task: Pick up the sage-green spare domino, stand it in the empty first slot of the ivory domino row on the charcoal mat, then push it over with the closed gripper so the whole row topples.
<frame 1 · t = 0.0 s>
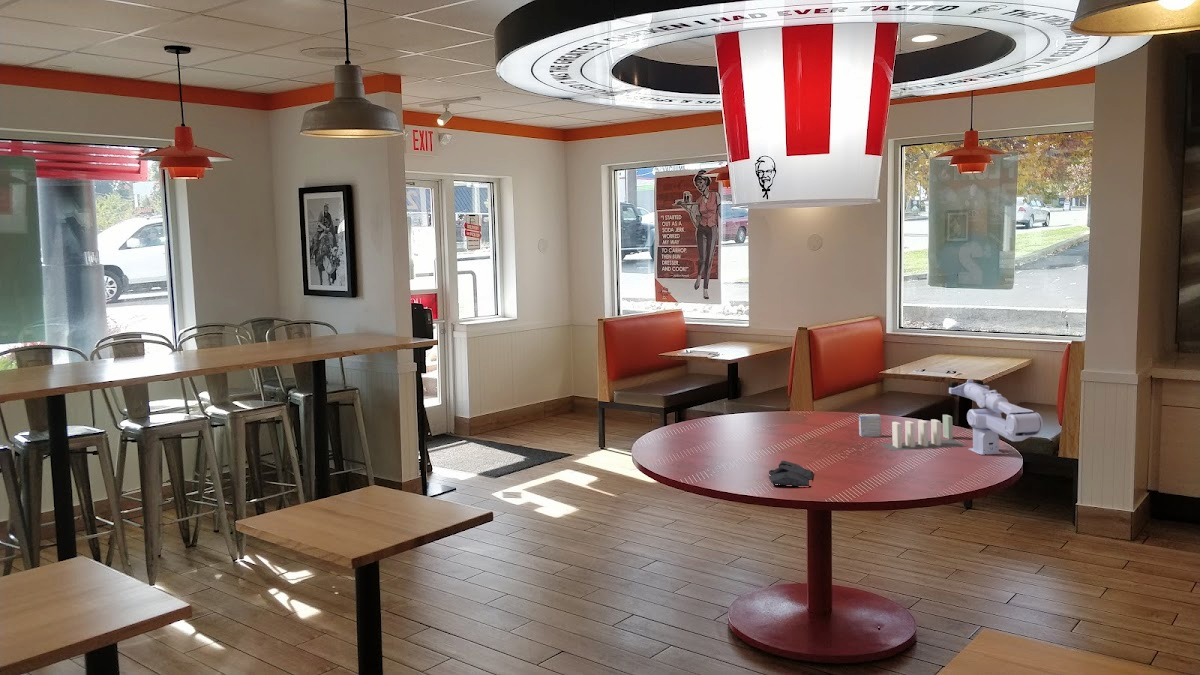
hand: (958, 384, 351), 22 cm above the table, tool horizontal, fingers open, 7 cm apart
domino 4: (910, 445, 348), resting on charcoal mat
domino 3: (923, 444, 348), resting on charcoal mat
charcoal mat: (923, 446, 348), on the table
domino 5: (897, 446, 347), resting on charcoal mat
domino 2: (936, 444, 348), resting on charcoal mat
spare domino: (947, 438, 359), on the table
dark slate chunk: (790, 481, 308), on the table
medicine box: (870, 437, 370), on the table
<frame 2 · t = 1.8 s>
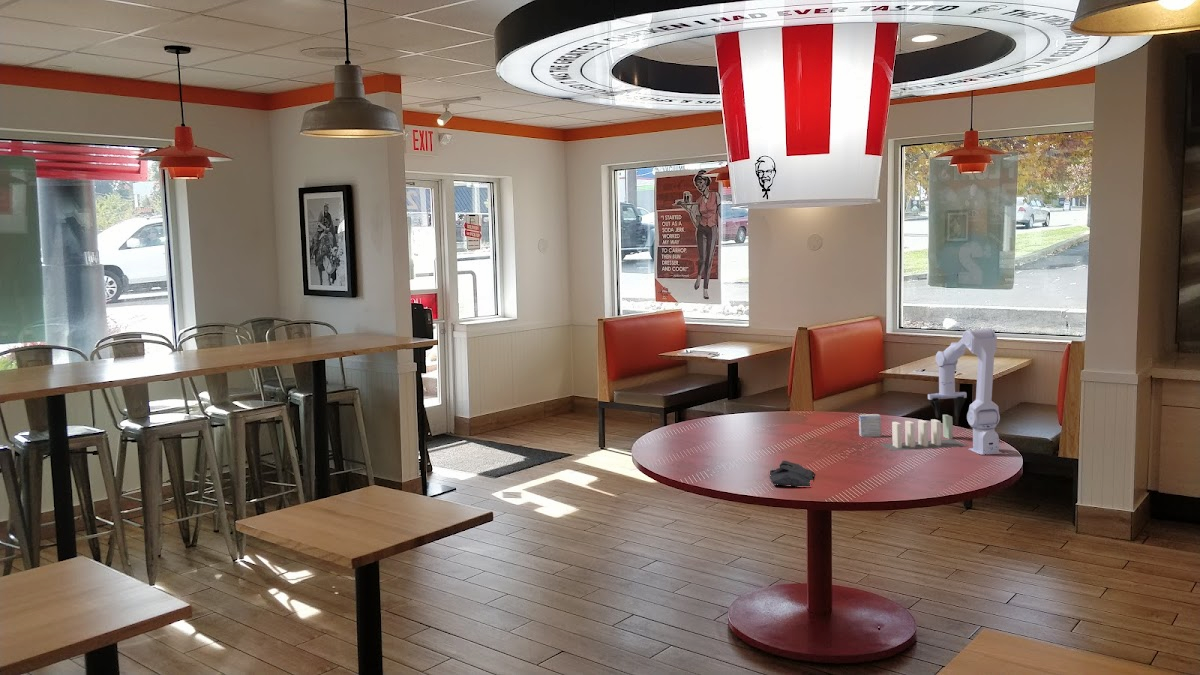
hand: (947, 417, 358), 8 cm above the table, tool pointing down, fingers open, 7 cm apart
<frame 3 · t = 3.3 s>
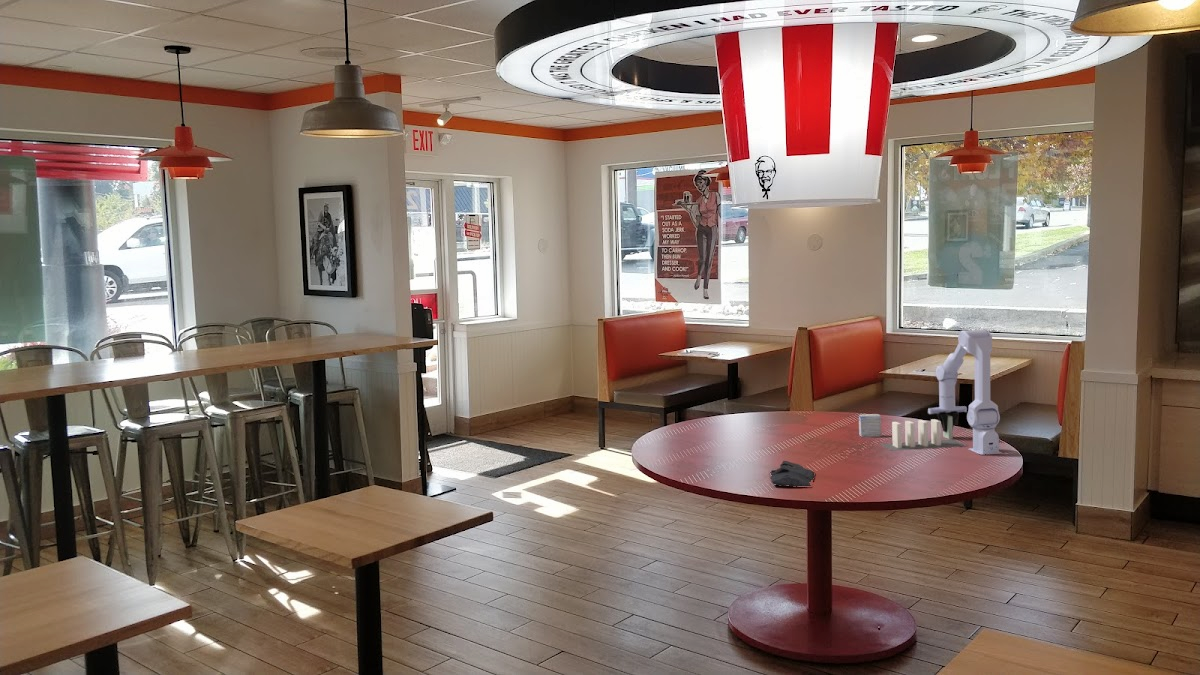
hand: (947, 431, 359), 3 cm above the table, tool pointing down, fingers closed on spare domino, 2 cm apart
spare domino: (947, 438, 359), on the table, touching gripper
everything else where it was.
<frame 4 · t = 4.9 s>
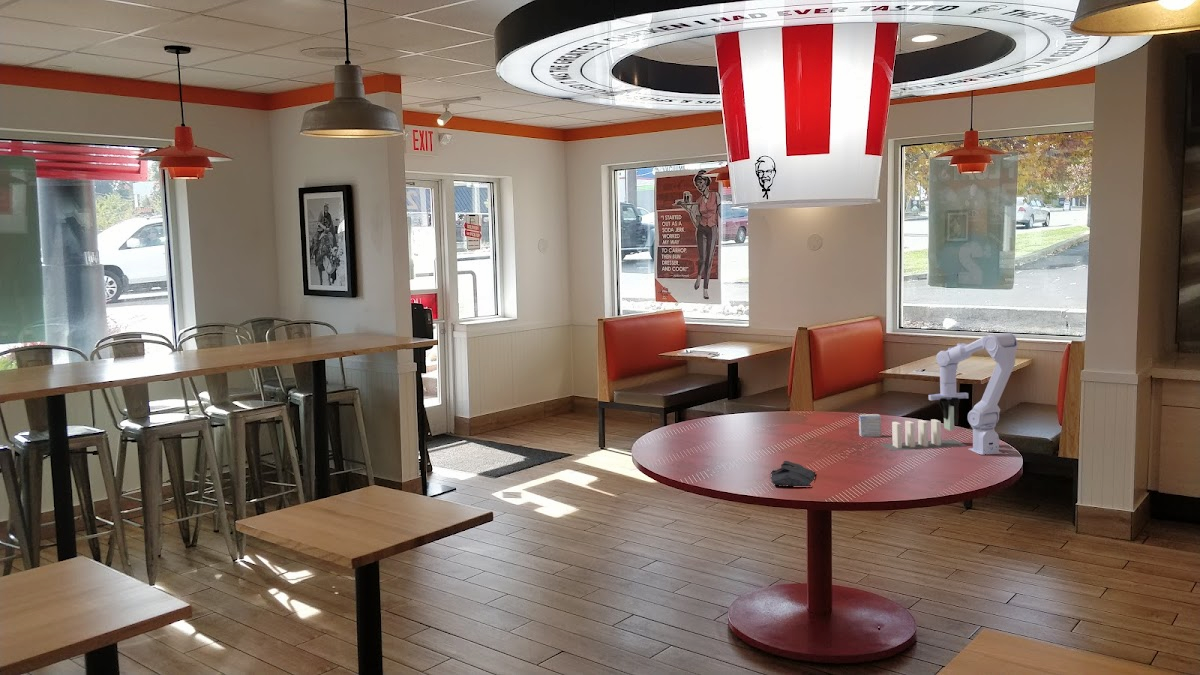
hand: (948, 418, 348), 10 cm above the table, tool pointing down, fingers closed on spare domino
spare domino: (949, 429, 348), point 6 cm above the table, touching gripper
everything else where it was.
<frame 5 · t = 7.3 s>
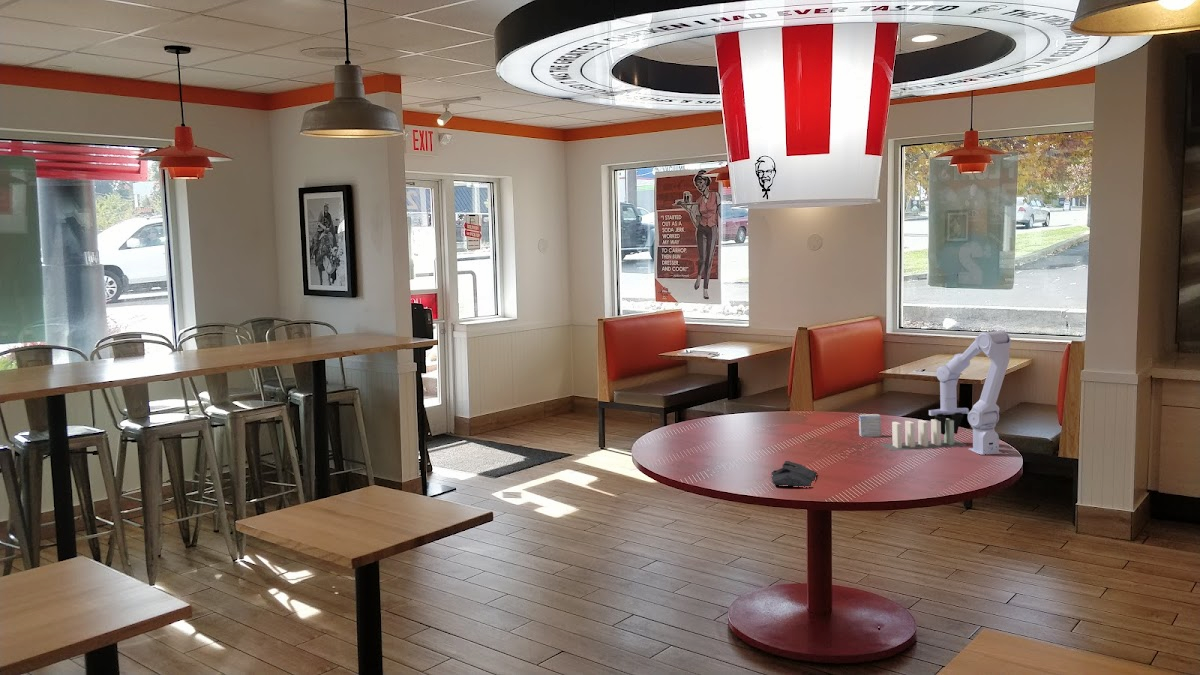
hand: (949, 433, 348), 4 cm above the table, tool pointing down, fingers open, 4 cm apart
domino 2: (936, 444, 348), resting on charcoal mat, touching gripper
spare domino: (949, 443, 349), resting on charcoal mat
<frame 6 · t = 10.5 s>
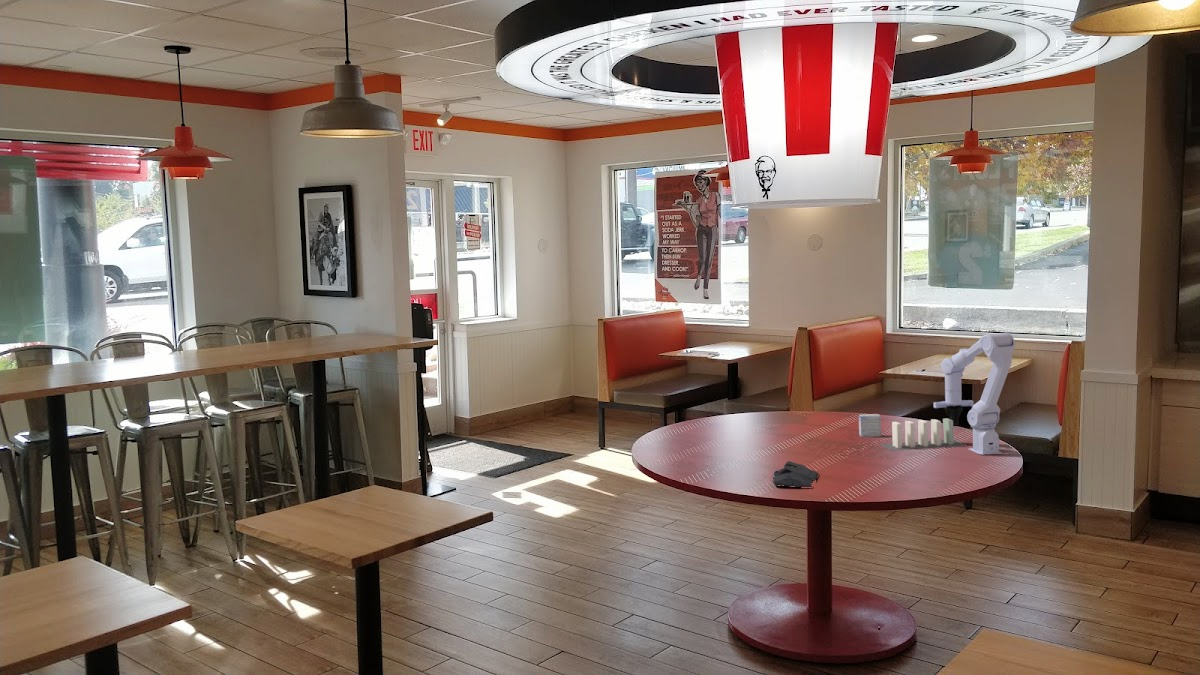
hand: (953, 425, 348), 7 cm above the table, tool pointing down, fingers closed
domino 2: (936, 444, 348), resting on charcoal mat
spare domino: (949, 443, 349), resting on charcoal mat, touching gripper
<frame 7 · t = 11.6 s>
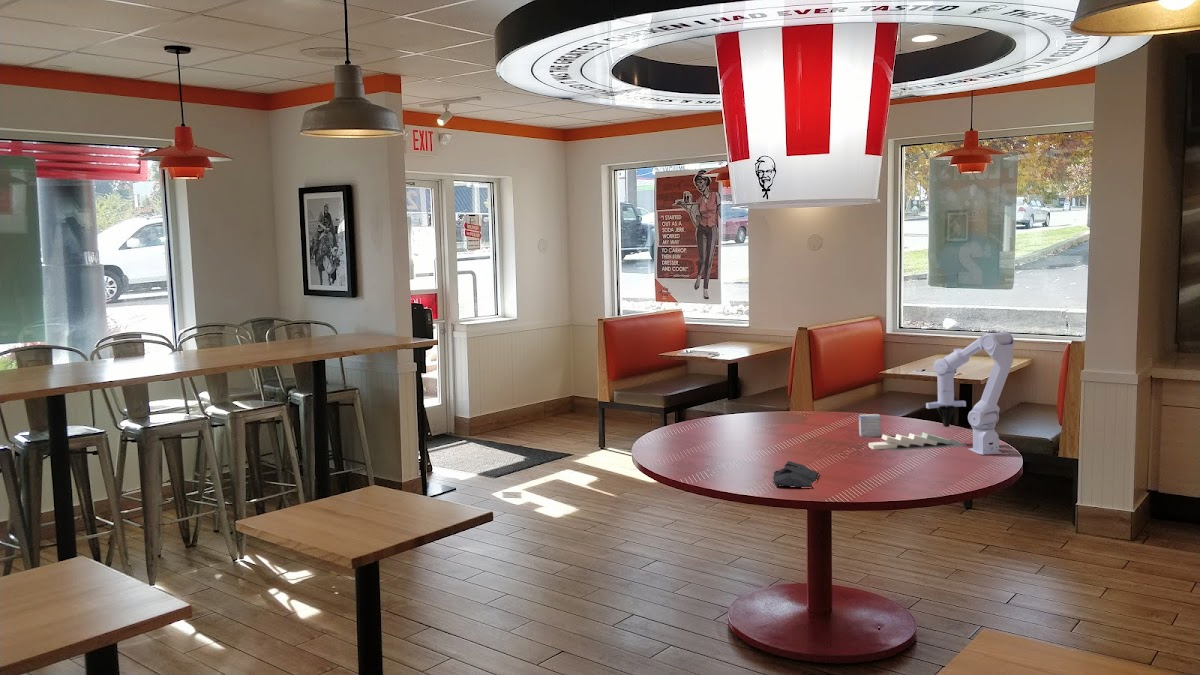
hand: (946, 426, 348), 7 cm above the table, tool pointing down, fingers closed
domino 4: (906, 444, 348), point 1 cm above the table, tilted 70°, touching charcoal mat, domino 3, domino 5
domino 3: (920, 443, 348), point 1 cm above the table, tilted 72°, touching charcoal mat, domino 2, domino 4
domino 5: (894, 444, 347), point 1 cm above the table, tilted 90°, touching charcoal mat, domino 4
domino 2: (933, 442, 348), point 1 cm above the table, tilted 72°, touching charcoal mat, domino 3, spare domino
spare domino: (946, 441, 349), point 1 cm above the table, tilted 71°, touching charcoal mat, domino 2
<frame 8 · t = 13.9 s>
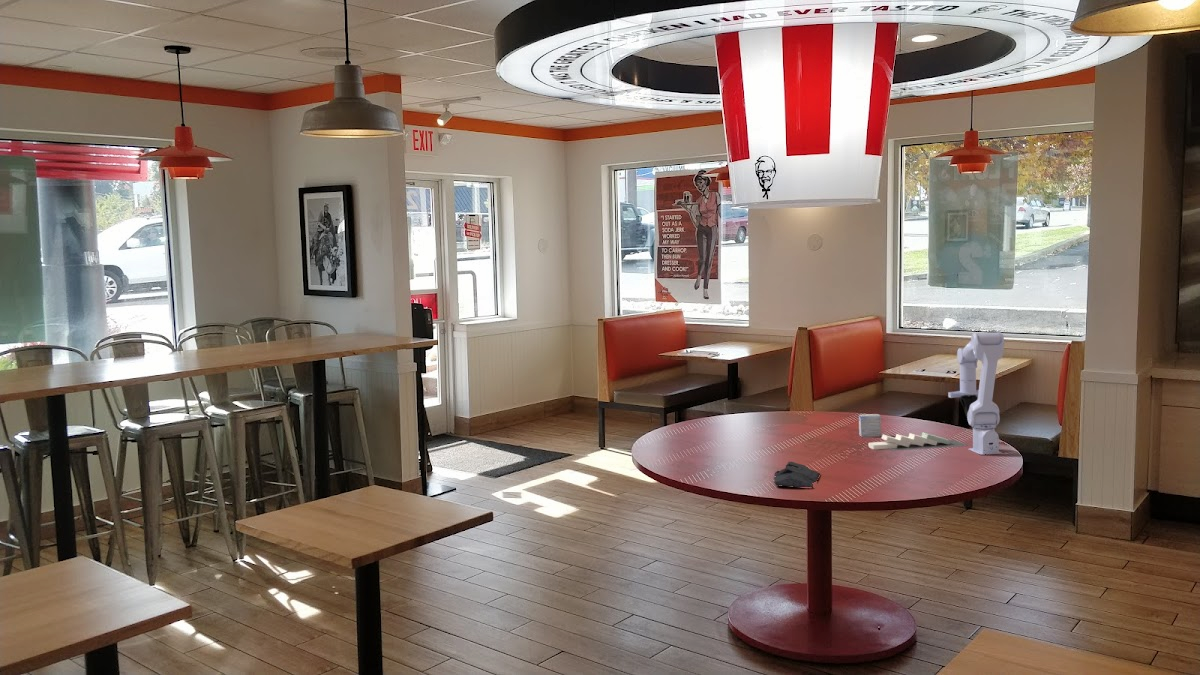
hand: (968, 415, 351), 10 cm above the table, tool pointing down, fingers closed
at the end: domino 5 tilted 90°; spare domino inside the target area (0.4 cm from its centre), point 1.2 cm above the table; spare domino tilted 71° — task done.
